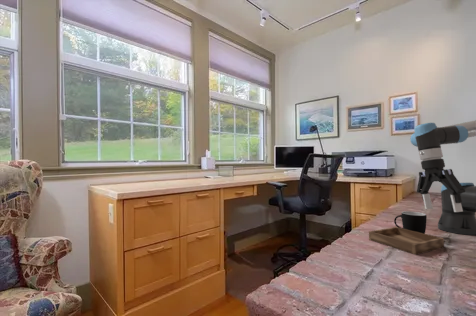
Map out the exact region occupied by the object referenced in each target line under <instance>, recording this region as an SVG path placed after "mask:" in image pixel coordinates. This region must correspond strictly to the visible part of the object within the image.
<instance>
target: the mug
mask: <svg viewBox="0 0 476 316" xmlns="http://www.w3.org/2000/svg"><path fill="white" fill-rule="evenodd" d="M398 218H401V223H402V227H401V226H399V225H398V223H397V219H398ZM393 219H394V220H393V222H394V225H395V227H398V228H402V229H407V230H411V231H415V232H419V233H423V234H426V229H427V220H428V218H427V213H425V212H424V213H423V212H419V211H408V210H407V211H404V210H403V211H401V214H400V215H396V216H395V218H393Z"/></svg>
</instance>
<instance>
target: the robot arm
mask: <svg viewBox="0 0 476 316" xmlns="http://www.w3.org/2000/svg"><path fill="white" fill-rule="evenodd" d="M413 132H414V133H412V134H411V136H410V139H409V140H410V143H411V145H412V146H413V147H417V151H418V155H419V160H421V161H420V165H421V169H422V170H423V171H419V172H418V176H419V177H418V184H417V188H416V193H420V195H421V196H422V197H421V198H422V201H423V204H424V209H425V210H431V209H434V208H433V202H432V198H431V194H430V192H429V191H430V188H432V187H431V186H432V185H433V183H434V182H439V183H440V184H442V185H441V186H440V187H441V190H440V197H441V198H440V199H441V214H440V217H439V219H438V222H437V228H438V229H439V230H441V231H444V232H449V233H453V234H458V235H465V236H466V235H467V236H476V185H474V182H460V181H459V180H458V178H457V177H456V176H455V174H454V171H453V169H452V168H449V169H448V168H447V169H445V167H446V164H445V160H444V159H443V157H444V155H443V150H442V146H441V145H450V144H459V143H460V144H461V143H464V142H465V141H466V140H467V139H468V138H472V137H476V119H475V120H471V121H467V122H461V123H454V124H452V125H446V126H442V127H438V126H437V124H436V123H435V122H426V123H422V124H418V125H416V126H414V131H413Z"/></svg>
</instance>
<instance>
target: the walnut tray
mask: <svg viewBox="0 0 476 316" xmlns="http://www.w3.org/2000/svg"><path fill="white" fill-rule="evenodd" d="M402 228H403V227H401V228H398V227H397V226H393V227H388V228H383V229H376V230H370V231H368V240H369V241H372V242H374V243H378V244H381V245H384V246H387V247H391V248H393V249H397V250H399V251H403V252H405V253H406V252H407V253H409V254H412V255H415V256H417V255H420V254H424V253H427V252H431V251H435V250H440V249H443V248H445V240H444V237H439V236H436V235H431V234H427V233H425V234H423V233H419V232H415V231H411V230H407V229H402Z"/></svg>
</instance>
